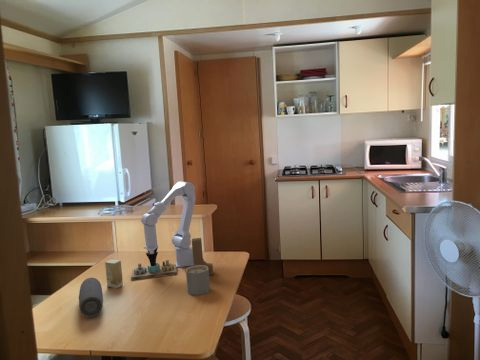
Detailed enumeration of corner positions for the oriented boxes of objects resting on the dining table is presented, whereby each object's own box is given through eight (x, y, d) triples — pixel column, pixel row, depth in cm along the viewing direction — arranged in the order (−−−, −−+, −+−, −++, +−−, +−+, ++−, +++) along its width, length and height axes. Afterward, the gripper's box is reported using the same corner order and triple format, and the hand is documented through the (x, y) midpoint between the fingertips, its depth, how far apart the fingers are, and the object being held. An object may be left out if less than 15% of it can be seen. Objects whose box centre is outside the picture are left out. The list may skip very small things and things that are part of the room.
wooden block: (213, 272, 199) (210, 236, 196) (213, 275, 194) (210, 239, 192) (195, 273, 198) (191, 238, 196) (194, 277, 194) (191, 241, 191)
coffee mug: (209, 294, 172) (207, 272, 171) (186, 296, 172) (184, 273, 171) (211, 282, 186) (209, 261, 184) (189, 284, 186) (187, 263, 184)
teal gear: (159, 267, 206) (159, 262, 205) (159, 271, 200) (159, 265, 200) (148, 269, 205) (147, 263, 204) (148, 273, 199) (147, 267, 199)
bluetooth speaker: (80, 300, 176) (77, 278, 174) (103, 295, 179) (100, 274, 178) (79, 322, 155) (76, 298, 153) (105, 317, 158) (102, 293, 156)
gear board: (176, 266, 210) (175, 255, 209) (176, 274, 199) (175, 262, 198) (132, 272, 206) (131, 261, 205) (131, 280, 195) (130, 268, 194)
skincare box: (107, 286, 189) (104, 261, 187) (113, 283, 193) (111, 258, 191) (117, 288, 186) (114, 263, 184) (123, 285, 190) (121, 260, 188)
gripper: (143, 234, 206) (145, 260, 208) (142, 242, 192) (144, 269, 194) (157, 233, 208) (159, 258, 209) (156, 240, 193) (159, 267, 195)
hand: (153, 263), depth 202 cm, fingers open, 7 cm apart
